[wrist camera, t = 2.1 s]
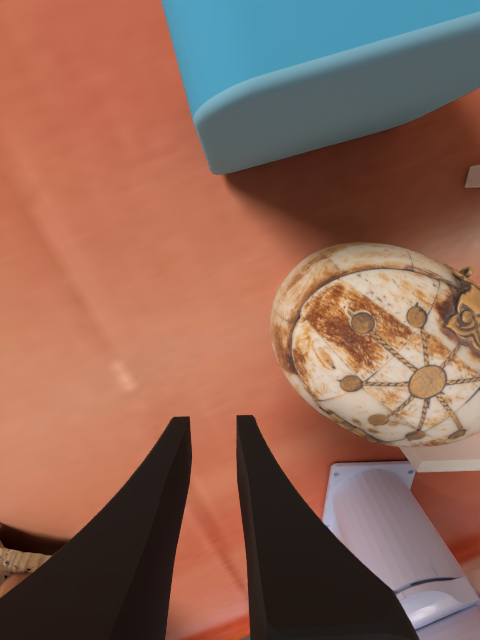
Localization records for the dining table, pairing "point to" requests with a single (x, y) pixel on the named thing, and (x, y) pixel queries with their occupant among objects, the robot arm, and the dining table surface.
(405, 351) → the trinket box
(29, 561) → the bird sculpture
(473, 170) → the display bay
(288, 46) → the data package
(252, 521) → the robot arm
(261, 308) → the dining table surface
